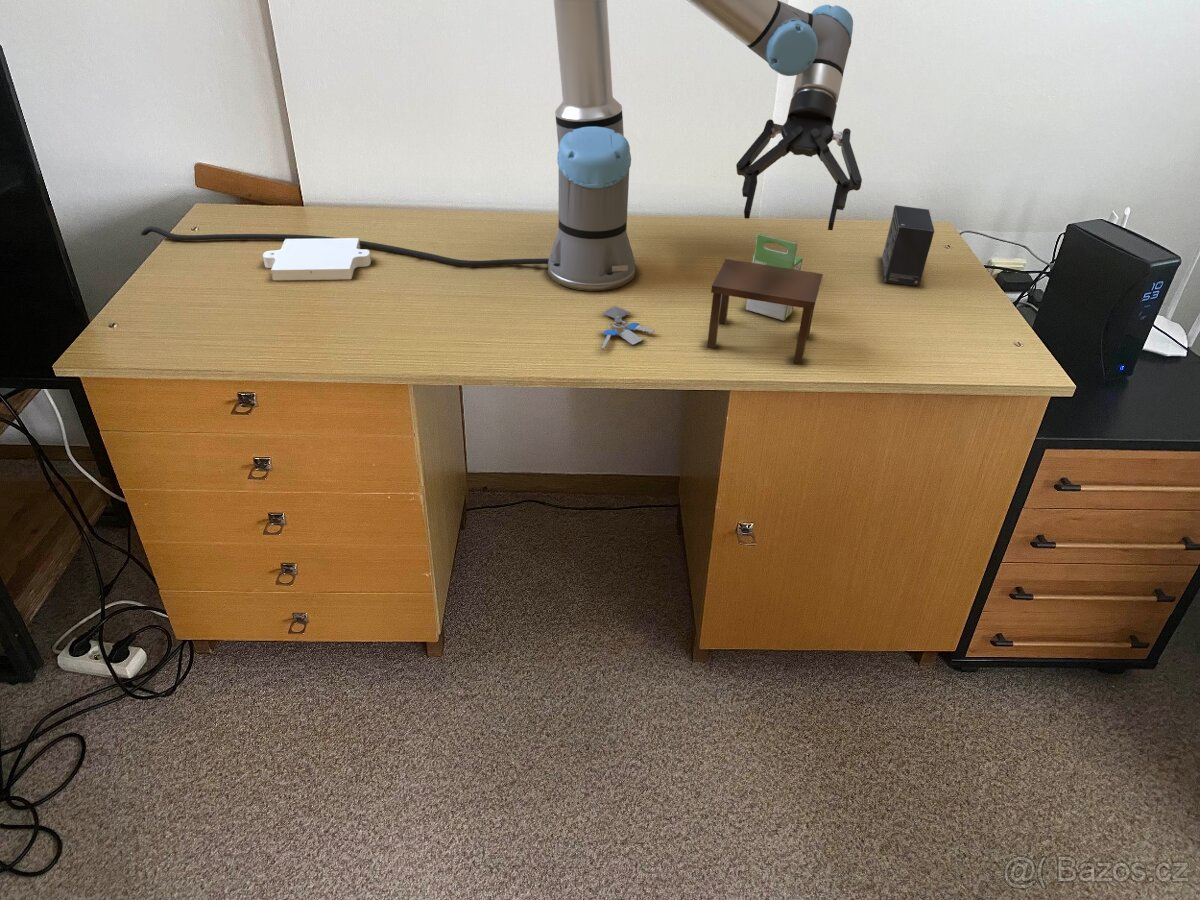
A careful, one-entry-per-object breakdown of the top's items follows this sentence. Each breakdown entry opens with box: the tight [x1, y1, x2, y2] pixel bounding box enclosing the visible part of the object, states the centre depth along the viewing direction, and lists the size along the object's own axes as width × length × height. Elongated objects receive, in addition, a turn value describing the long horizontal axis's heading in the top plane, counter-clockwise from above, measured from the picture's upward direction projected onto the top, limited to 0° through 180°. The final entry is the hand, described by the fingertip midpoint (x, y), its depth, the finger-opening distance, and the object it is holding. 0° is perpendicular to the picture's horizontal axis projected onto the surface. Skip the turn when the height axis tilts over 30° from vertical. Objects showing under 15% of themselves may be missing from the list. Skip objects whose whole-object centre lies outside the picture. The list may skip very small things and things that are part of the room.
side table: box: [706, 258, 824, 365], centre depth 134 cm, size 15×10×10 cm, turn 72°
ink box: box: [745, 233, 804, 321], centre depth 141 cm, size 7×4×13 cm, turn 58°
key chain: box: [601, 306, 656, 350], centre depth 138 cm, size 14×8×1 cm, turn 178°
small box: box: [880, 204, 935, 287], centre depth 155 cm, size 11×6×10 cm, turn 168°
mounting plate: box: [262, 237, 372, 281], centre depth 154 cm, size 18×13×2 cm
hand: (788, 221), depth 143 cm, fingers open, 13 cm apart
